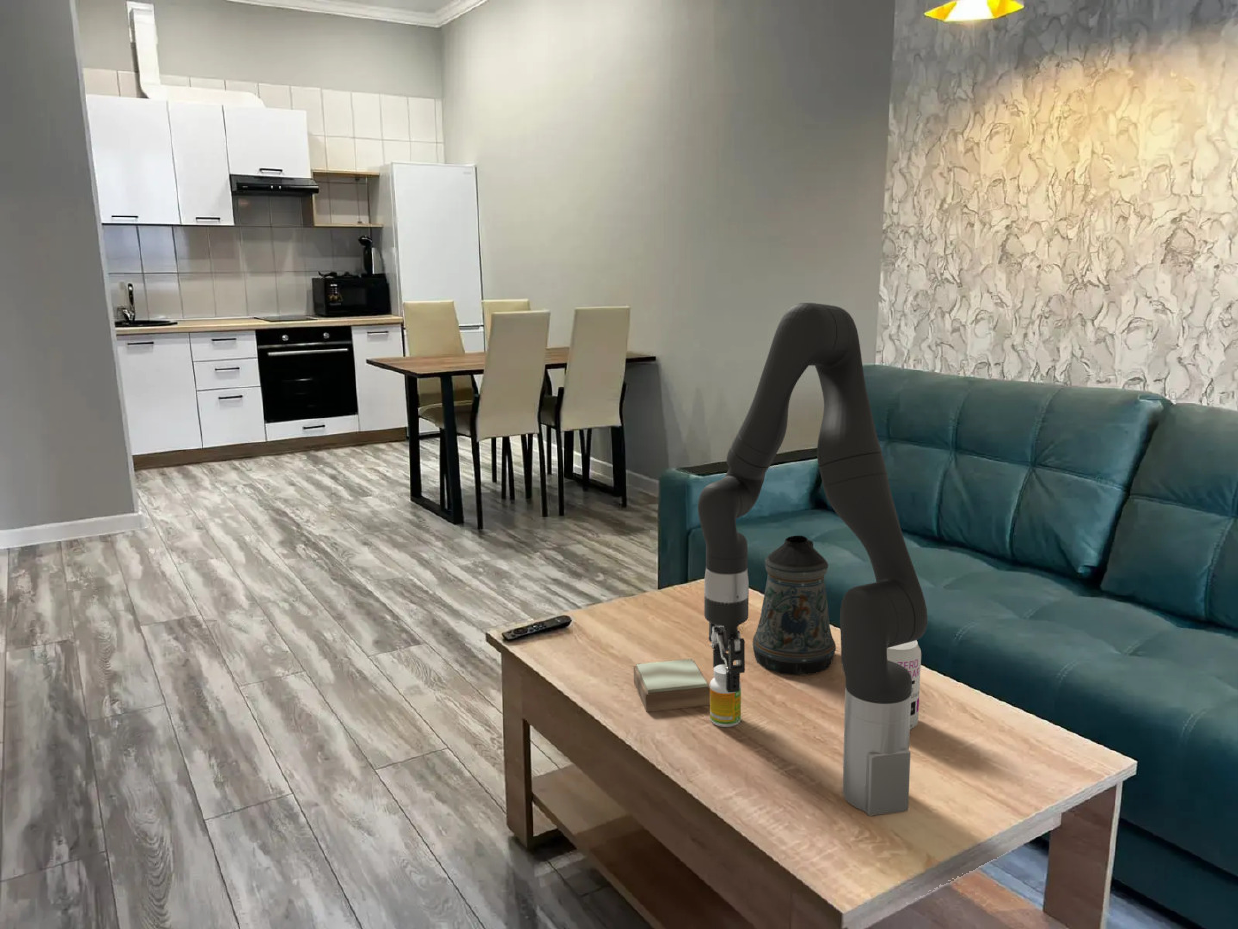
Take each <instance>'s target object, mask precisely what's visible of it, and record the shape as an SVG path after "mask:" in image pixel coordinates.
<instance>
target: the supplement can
mask: <svg viewBox="0 0 1238 929" xmlns="http://www.w3.org/2000/svg"><path fill="white" fill-rule="evenodd" d="M887 660H889V661H892V662H895V663H897V664H899V665H901V666H903V667H904V668H906V669H907V670H908V671H909V673H910V674H911V678H912V693H911V713H910V731H911V730H912V729H913V728H915V727H916V726H917V725H918V723H919V709H920V708H919V707H920V687H921V668H922V666H921V665H922V651H921V648H920V646H919V644H918V641H917V640H915V641H912V642H909V643H904V644H901V645H897V646H893V647H889V648H887Z"/></svg>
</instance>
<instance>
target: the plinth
mask: <svg viewBox="0 0 1238 929" xmlns="http://www.w3.org/2000/svg"><path fill="white" fill-rule="evenodd" d="M633 684H634V686H635V688H636V690H637V694H638V696H639V697H640V700H641V702H642V705H643V708H644V710H645V712H646V713H649V712H659V711H667V710H676V709H686V708H696V707H703V706H710V683H708V681H707V679H706V678H705V676H704V674H703V673H702V671H701V669H700V668H699V666H698V664H697V663H696V661H695V659H693V658H684V659H676V660H666V661H665V660H664V661H658V662H656V661H655V662H647V663H637V664H636V665H634V666H633Z"/></svg>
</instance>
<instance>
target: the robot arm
mask: <svg viewBox="0 0 1238 929" xmlns="http://www.w3.org/2000/svg"><path fill="white" fill-rule="evenodd" d="M810 366H813V367H815V370H816V373H817V375H818V380H819V383H820V387H821V392H822V396H823V397H822V398H823V413H822V420H821V424H820V427H819V428H820V429H819V434H818V439H817V446H816V459H817V464H818V468H819V472H820V473H819V474H820V478H821V481H822V482H821V483H822V486H823V490H824V494H825V497H826V499H827V501H828V503H829V505H830V506H831V508H832V509H833V510H834V511H835V514H837V515H838V517H839V519H841V520H842V521H843V523H844V524H846V526H847V527H848V528H849V530H851V532H852V533H853V534H854V535H855V536H856V537H857V538H858V540H859V541H860V542H861V544H862V546H863V548H864V549H865V550H866V553H867V555H868V557H869V560H870V564H871V566H872V570H873V573H874V577H875V582H871V583H868V584H863V585H858V586H855V587H851V588H850V589H848V590H847V591H846V592H845V594H844V595H843V598H842V600H841V603H840V604H841V605H840V610H839V612H840V614H839V624H840V625H839V628H840V631H839V632H840V658H841V659H840V660H841V666H842V669H843V673H844V677H845V678H844V679H845V684H844V685H845V686H844V687H845V688H844V689H845V690H844V692H845V693H844V722H843V723H844V724H843V725H844V726H843V757H842V758H843V760H842V763H843V764H842V795H843V798H844V799H845V800H846V802H847V803H849V804H850V805H852V806H853V807H854V808H856V809H859V810H861V811H863V812H865V813H866V814H867V816H871V817H872V816H876V815H878V816H879V815H884V814H892V813H898V812H907V811H909V800H910V799H909V798H910V796H909V795H910V777H911V776H910V775H911V756H912V754H911V751H910V736H911V734H910V731H911V730H910V713H911V693H912V678H911V674H910V673H909V671H908V670H907V669H906V668H904V667H903V666H901V665H899V664H897V663H895V662H892V661H889V660H887V648H889V647H893V646H897V645H901V644H904V643H909V642H912V641H915V640H916V641H917V640H920V639H921V638H922V637H923V636H924V634H925V633H926V629H927V627H928V622H929V621H928V609H927V608H928V607H927V604H926V599H925V596H924V592H923V590H922V587H921V584H920V581H919V579H918V575H917V573H916V570H915V566H914V564H913V561H912V558H911V555H910V553H909V551H908V550H909V549H908V547H907V544H906V541H905V538H904V535H903V532H902V529H901V524H900V522H899V517H898V515H897V514H898V513H897V510H896V507H895V503H894V500H893V495H892V491H891V486H890V482H889V476H888V472H887V467H886V464H885V461H884V455H883V452H882V449H881V445H880V440H879V438H878V434H877V430H876V427H875V426H876V425H875V421H874V417H873V413H872V409H871V404H870V400H869V396H868V392H867V387H866V386H867V385H866V381H865V373H864V367H863V360H862V351H861V344H860V337H859V332H858V328H857V325H856V323H855V321H854V319H853V317H852V316H851V314H850V313H849V312H847V310H846V309H844V308H843V307H840V306H837V305H830V304H826V303H825V304H824V303H823V304H822V303H816V302H815V303H814V302H801V303H796V304H794V305H793V306H791V307H790V308H788V310H786V311H785V313H784V314H783V315H782V317H781V319H780V321H779V323H778V325H777V327H776V330H775V333H774V336H773V338H772V342H771V345H770V348H769V350H768V354H767V358H766V360H765V364H764V365H763V369H762V372H761V376H760V379H759V381H758V385H757V388H756V390H755V391H756V392H755V394H754V396H753V400H752V402H751V405H750V407H749V409H748V412H747V413H746V416H745V418H744V420H743V422H742V424H741V426H740V428H739V429H738V432H737V434H736V436H735V437H734V440H733V441H732V444H731V446H730V448H728V451H727V452H728V453H727V454H726V465H728V470H727V472H726V473H725V475H724V476H723V478H722V479H719V480H716V481H714V482H711V483H709V484H707V485H706V486H704V488H703V489H702V491H701V492H700V493H699V494H700V495H699V497H698V500H697V501H698V502H697V512H698V517H699V523H700V526H701V527H700V528H701V532H702V534H703V539H704V542H705V546H706V548H705V573H704V582H703V583H704V590H703V591H704V599H703V600H704V602H703V604H704V605H703V607H704V609H703V610H704V611H703V612H704V618H705V620H706V621H707V622H709V623H708V640H709V643H711V644H710V646H711V649H712V668H713V669H714V667H716V666H717V665H722V664H725V667H726V690H727V691H728V692H738V691H739V690H740V683H741V678H740V677H741V674H744V673H745V672H746V666H745V664H746V663H745V660H746V659H745V658H746V657H745V656H746V655H745V654H746V653H745V647H746V646H745V645H746V644H745V643H746V642H745V639H744V638H743V637H741V632H740V630H739V629H738V627H739V626H740V625H741V624H745V622H747V621H748V619H749V600H750V599H749V593H750V592H749V590H750V589H749V586H750V584H749V582H750V581H749V573H748V556H749V554H748V541H747V538H746V536H745V535H744V534H742V533H740V532H739V531H737V530H738V529H737V524H736V521H737V519H739V518H740V517H743V516H745V515H746V514H748V513H749V512H750V511H751V510H752V508H753V507H754V506H755V505H756V503H757V501H758V499H759V496H760V494H761V491H762V487H763V485H764V481H765V477H766V473H767V471H768V470H769V468H770V466H771V464H772V462H773V461H774V459H775V457H776V455H777V453H778V451H779V450H780V448H781V446H782V444H783V442H784V439H785V437H786V433H787V428H788V422H789V420H788V418H789V408H790V407H789V406H790V401H791V397H792V393H793V391H794V389H795V387H796V385H797V383H798V381H799V380H800V379H801V376H802V375H803V374H804V373H805V371H806V370H807V368H808V367H810ZM734 661H735V663H736V664H734Z"/></svg>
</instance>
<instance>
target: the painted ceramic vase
mask: <svg viewBox="0 0 1238 929" xmlns="http://www.w3.org/2000/svg"><path fill="white" fill-rule="evenodd" d="M764 567H765V570H766V572H767V577H766V584H765V590H764V596H763V600H762V606H761V609H760V610H761V611H760V616H759V621H758V624H757V628H756V632H754V635H753V638H752V650H753V654H754V658H755V661H756V663H757V664H759V665H760V666H761V667H763V668H764V669H765V670H769V671H772V672H775V673H778V674H783V675H790V676H791V675H792V676H799V677H800V676H806V675H813V674H819V673H821V672H823V671H825V670H827V669H829V668H831V666H832V663H833V660H834V656H835V653H836V649H837V648H836V647H837V646H836V641H835V640H834V637H833V634H832V631H831V625H830V617H829V606H828V599H827V591H826V585H825V575H826V574H827V573H828V568H829V563H828V561H827V560H826V558H825V557H824V556H823V555H821V553H820V552H818V551H817V550H816V549H815V547H814V542H813V541H812V540H809V539H808V537H806V536H804V535H792V536H788V537H786V538H785V540H784V543H783V544H782V545H780V546H779V547H778V548H777V549H774V550H773V551H772V552H771V553H769V555H768V556H767V557H766V558H765V560H764Z"/></svg>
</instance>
